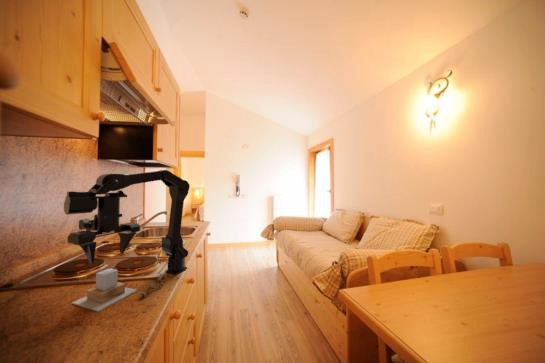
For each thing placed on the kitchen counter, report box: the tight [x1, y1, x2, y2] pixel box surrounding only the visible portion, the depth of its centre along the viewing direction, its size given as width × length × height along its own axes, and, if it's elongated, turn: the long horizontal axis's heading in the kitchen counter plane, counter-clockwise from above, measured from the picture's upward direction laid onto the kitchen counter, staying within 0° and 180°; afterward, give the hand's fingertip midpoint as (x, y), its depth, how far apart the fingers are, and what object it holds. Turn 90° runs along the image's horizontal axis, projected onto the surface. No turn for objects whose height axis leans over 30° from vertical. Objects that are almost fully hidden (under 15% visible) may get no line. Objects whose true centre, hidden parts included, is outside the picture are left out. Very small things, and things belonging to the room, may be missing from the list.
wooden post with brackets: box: [140, 274, 164, 298], centre depth 70 cm, size 2×8×4 cm, turn 162°
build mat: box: [71, 286, 138, 313], centre depth 66 cm, size 12×12×1 cm
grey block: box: [95, 267, 119, 291], centre depth 66 cm, size 4×4×5 cm
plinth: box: [86, 281, 126, 304], centre depth 66 cm, size 7×7×3 cm
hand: (107, 258), depth 67 cm, fingers open, 9 cm apart
